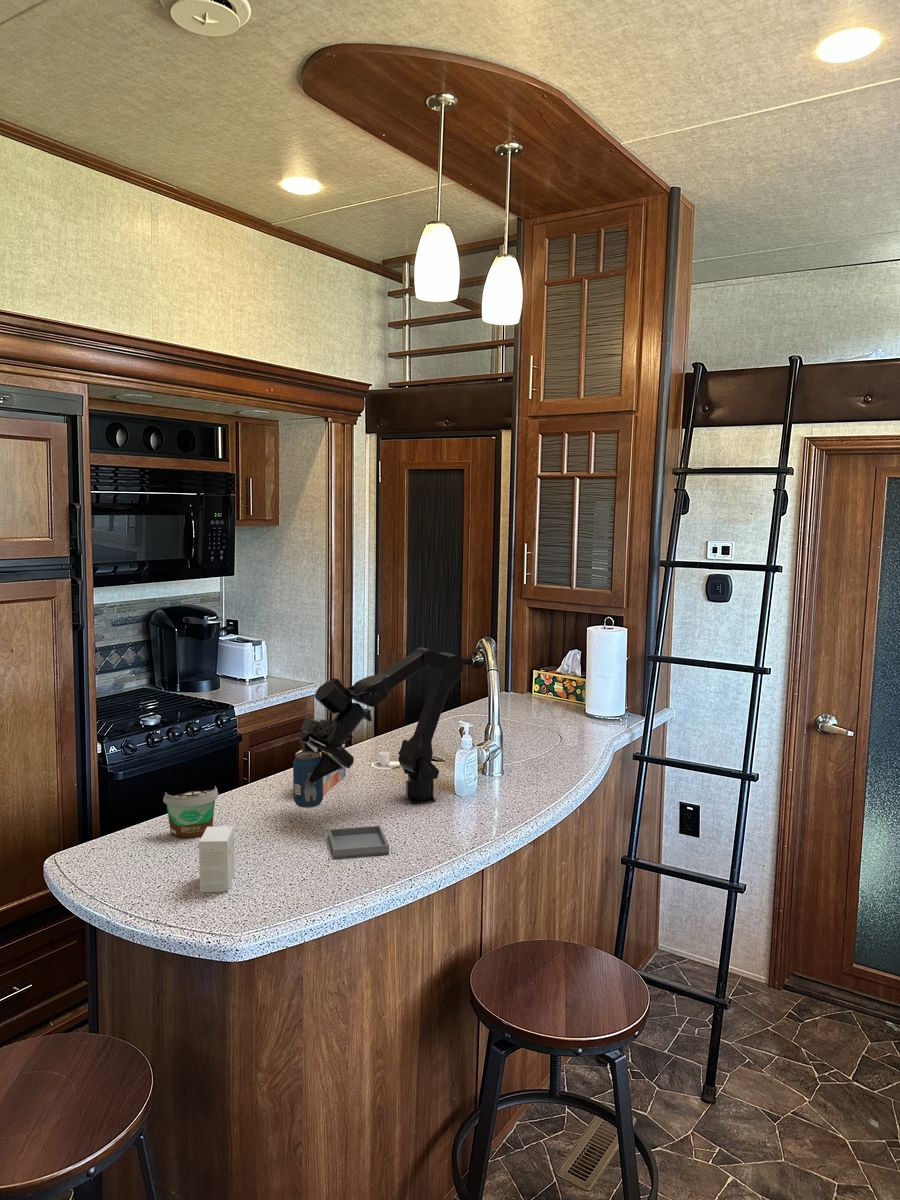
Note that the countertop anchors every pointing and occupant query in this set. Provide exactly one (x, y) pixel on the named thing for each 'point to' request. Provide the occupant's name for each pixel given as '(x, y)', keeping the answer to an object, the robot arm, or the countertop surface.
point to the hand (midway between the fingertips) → (302, 777)
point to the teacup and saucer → (385, 761)
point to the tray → (358, 842)
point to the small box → (216, 859)
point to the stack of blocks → (332, 777)
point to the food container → (190, 812)
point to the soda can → (306, 780)
